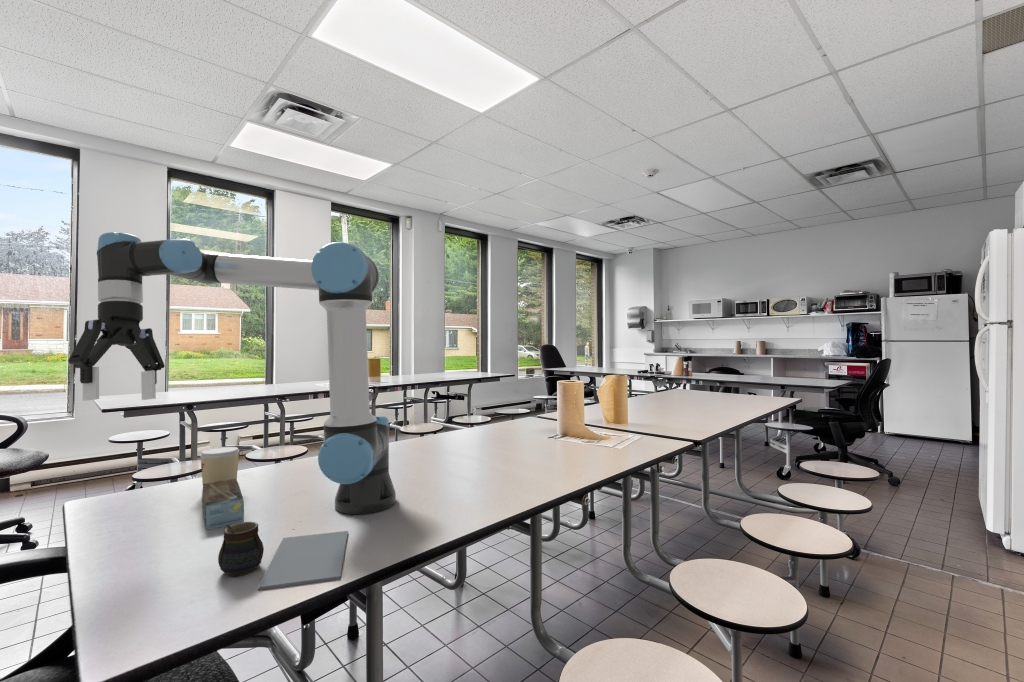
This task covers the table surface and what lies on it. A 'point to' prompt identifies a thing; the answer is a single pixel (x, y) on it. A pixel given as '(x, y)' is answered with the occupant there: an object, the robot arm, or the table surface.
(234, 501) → the beverage carton
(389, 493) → the robot arm
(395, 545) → the table surface
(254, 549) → the mate gourd
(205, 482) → the coffee cup
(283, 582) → the mat
